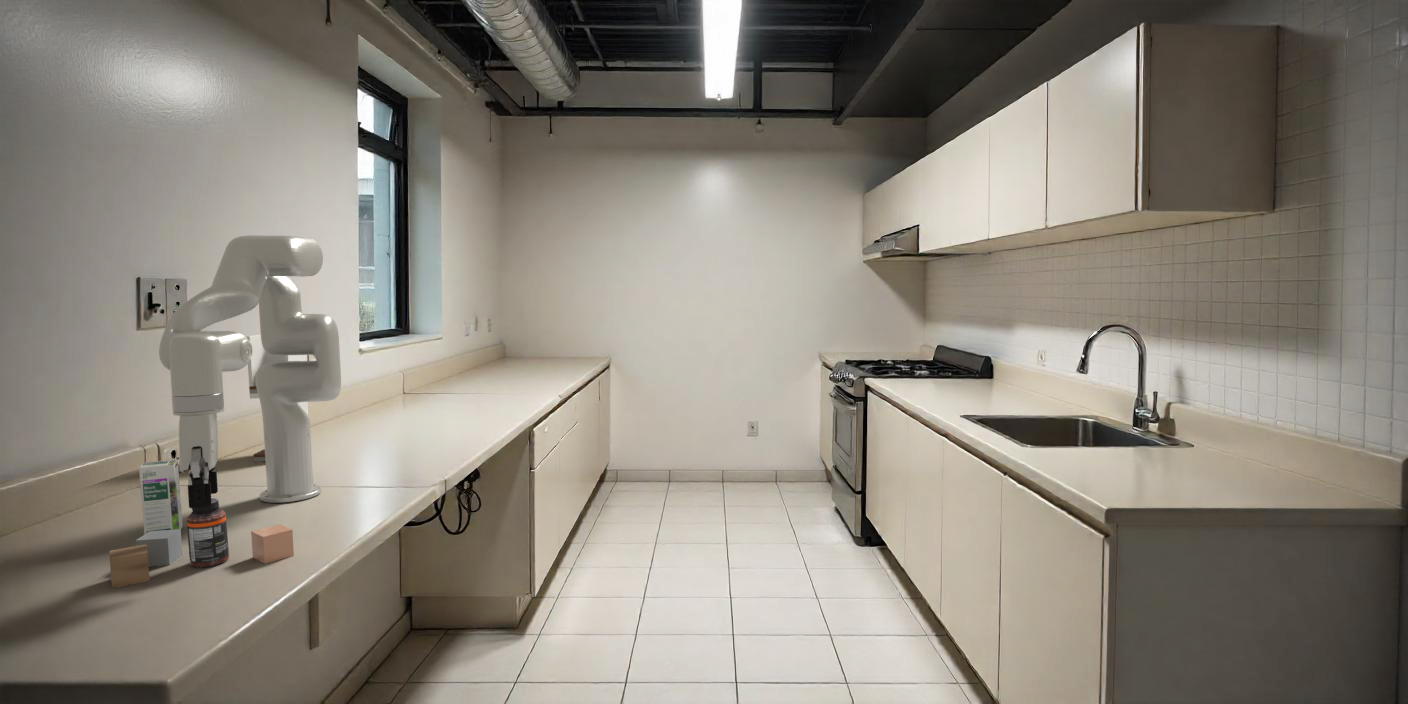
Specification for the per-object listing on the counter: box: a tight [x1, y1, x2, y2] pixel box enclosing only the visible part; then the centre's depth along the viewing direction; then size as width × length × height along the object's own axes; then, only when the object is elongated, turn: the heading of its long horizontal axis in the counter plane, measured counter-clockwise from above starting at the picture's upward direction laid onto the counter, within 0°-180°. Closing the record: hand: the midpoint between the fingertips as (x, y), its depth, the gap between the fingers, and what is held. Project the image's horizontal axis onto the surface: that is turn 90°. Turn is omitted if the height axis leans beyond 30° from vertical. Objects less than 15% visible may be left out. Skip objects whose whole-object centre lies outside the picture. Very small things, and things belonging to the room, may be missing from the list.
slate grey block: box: [135, 529, 183, 568], centre depth 137 cm, size 5×5×5 cm
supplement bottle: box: [186, 497, 230, 568], centre depth 136 cm, size 6×6×11 cm
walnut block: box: [109, 544, 150, 589], centre depth 128 cm, size 5×5×5 cm
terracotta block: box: [250, 524, 295, 565], centre depth 139 cm, size 5×5×5 cm
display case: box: [245, 333, 309, 463], centre depth 217 cm, size 11×11×35 cm
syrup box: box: [138, 458, 183, 535], centre depth 151 cm, size 6×6×14 cm
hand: (204, 500), depth 135 cm, fingers open, 9 cm apart
